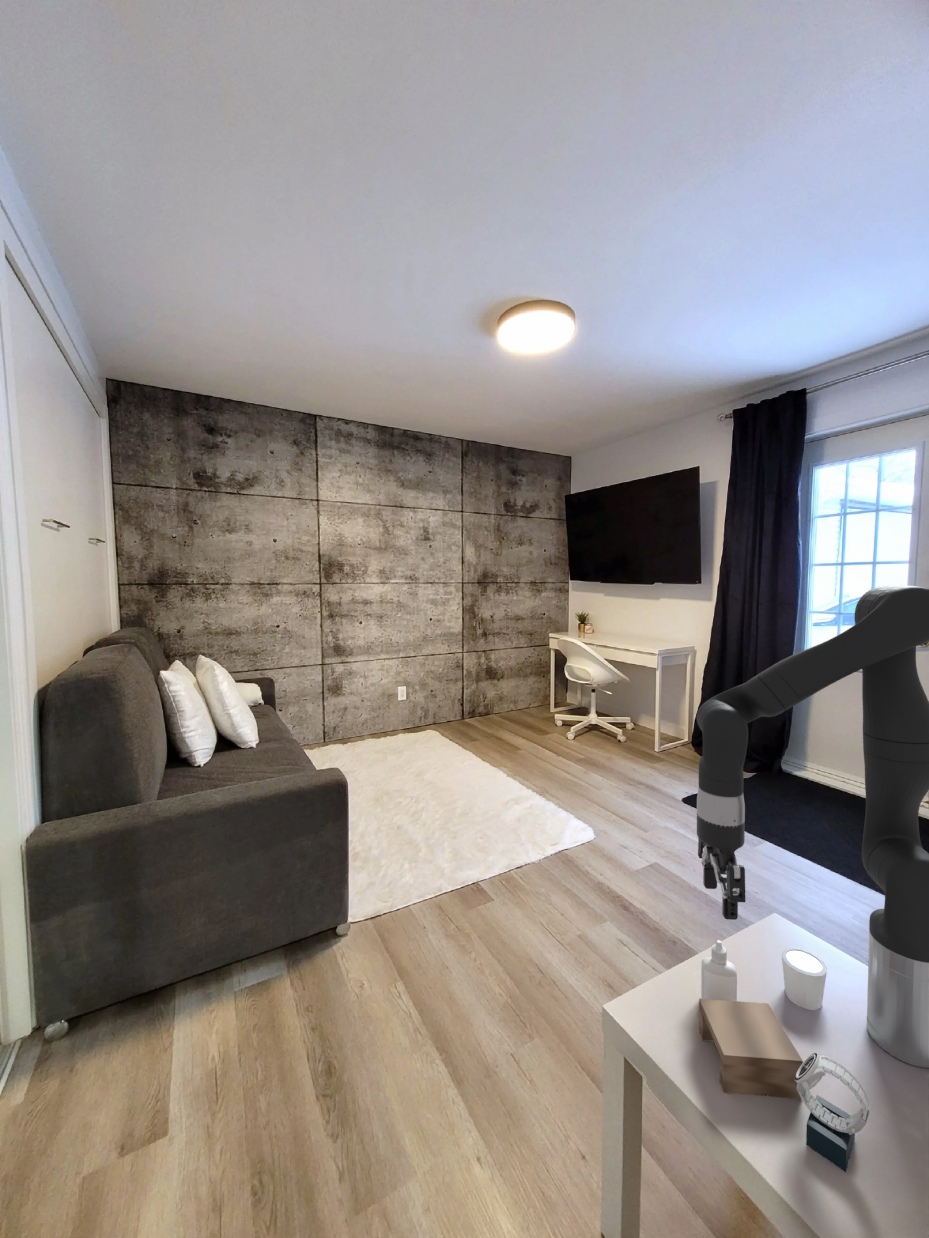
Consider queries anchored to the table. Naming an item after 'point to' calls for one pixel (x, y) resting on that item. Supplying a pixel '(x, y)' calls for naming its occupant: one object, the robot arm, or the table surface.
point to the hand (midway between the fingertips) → (719, 902)
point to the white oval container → (804, 978)
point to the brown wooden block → (750, 1048)
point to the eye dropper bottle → (718, 976)
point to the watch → (830, 1111)
